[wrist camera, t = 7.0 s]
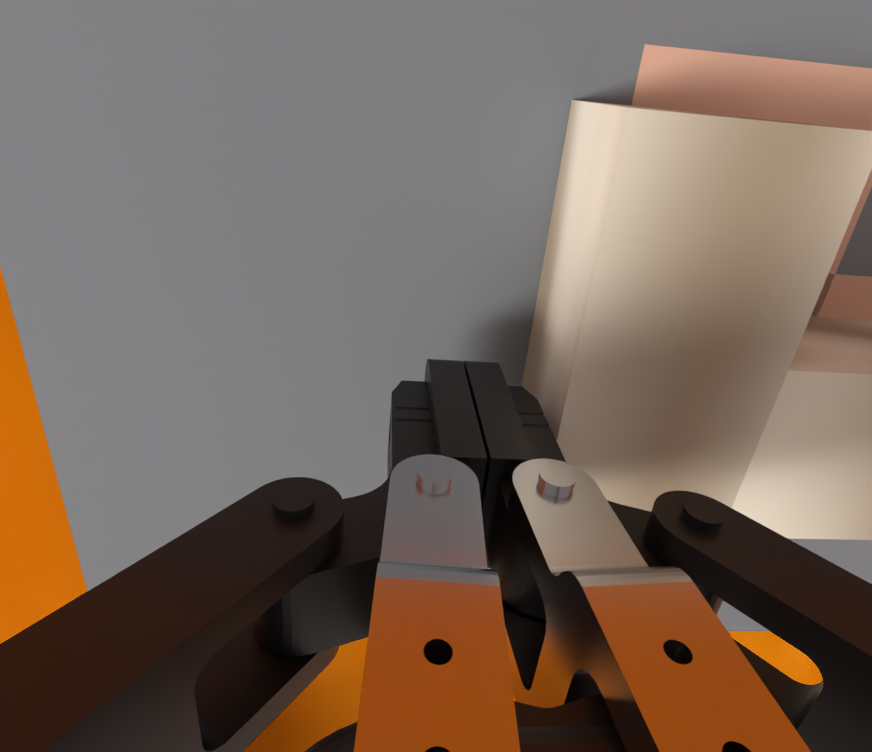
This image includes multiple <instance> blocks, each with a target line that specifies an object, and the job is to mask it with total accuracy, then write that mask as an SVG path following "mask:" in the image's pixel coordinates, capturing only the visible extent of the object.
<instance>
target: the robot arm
mask: <svg viewBox="0 0 872 752" xmlns="http://www.w3.org/2000/svg"><path fill="white" fill-rule="evenodd" d="M387 470H388V471H387V480H386V481H385V482H384V483H383V484H382V485H381V486H379V487H378V488H376V489H374V490H373V491H371V492H368V493H365V494H363V495H359V496H355V497H350V498H345V499H342V497H341V495H340V494H339V492H338V491H337V490H336V489H335V488H334V487H332V486H331V485H329V484H327V483H325V482H323V481H320V480H317V479H313V478H307V477H290V478H283V479H279V480H275V481H272V482H270V483H267V484H265V485H263V486H261V487H260V488H258V489H256V490H255V491H253V492H251V493H250V494H248V495H246V496H245V497H243V498H241V499H240V500H238V501H236V502H235V503H233V504H231V505H230V506H228V507H226V508H225V509H223V510H221V511H220V512H218V513H217V514H215V515H213V516H212V517H210V518H208V519H207V520H205V521H203V522H202V523H200V524H198V525H197V526H195V527H193V528H192V529H190V530H188V531H187V532H185V533H183V534H182V535H180V536H178V537H177V538H175V539H174V540H172V541H170V542H169V543H167V544H165V545H164V546H162V547H160V548H159V549H157V550H155V551H154V552H152V553H150V554H149V555H147V556H145V557H144V558H142V559H140V560H139V561H137V562H135V563H134V564H132V565H131V566H129V567H127V568H126V569H124V570H122V571H121V572H119V573H117V574H116V575H114V576H112V577H111V578H109V579H107V580H106V581H104V582H102V583H101V584H99V585H97V586H96V587H94V588H92V589H91V590H89V591H88V592H86V593H84V594H83V595H81V596H79V597H78V598H76V599H74V600H73V601H71V602H69V603H68V604H66V605H64V606H63V607H61V608H59V609H58V610H56V611H54V612H53V613H51V614H49V615H48V616H46V617H45V618H43V619H41V620H40V621H38V622H36V623H35V624H33V625H31V626H30V627H28V628H26V629H25V630H23V631H21V632H20V633H18V634H16V635H15V636H13V637H11V638H10V639H8V640H6V641H5V642H3V643H2V644H0V752H243V751H244V750H245V749H246V748H247V747H248V746H249V745H250V744H251V743H252V742H253V741H254V740H255V739H256V738H257V737H258V736H259V735H260V734H261V733H262V732H263V731H264V730H265V729H266V728H267V727H268V726H269V725H270V724H271V723H272V722H273V721H274V720H275V719H276V718H277V717H278V716H279V715H280V714H281V713H282V712H283V711H284V709H285V708H286V707H287V706H288V705H289V704H290V703H291V702H292V701H293V700H294V699H295V698H296V697H297V696H298V695H299V694H300V693H301V692H302V691H303V690H304V689H305V688H306V687H307V686H308V685H309V684H310V683H311V682H312V681H313V680H314V679H315V678H316V677H317V676H318V675H319V674H320V673H321V672H322V671H323V670H324V669H325V668H326V667H327V666H328V665H329V663H330V662H331V661H332V660H333V659H334V657H335V655H336V653H337V651H338V648H339V646H340V645H343V644H346V643H349V642H353V641H356V640H359V639H363V638H366V637H368V643H367V651H366V659H365V667H364V675H363V683H362V691H361V699H360V706H359V714H358V722H356V723H353V724H351V725H349V726H346V727H344V728H342V729H339V730H337V731H335V732H334V733H332V734H330V735H328V736H327V737H325V738H323V739H321V740H320V741H318V742H317V743H315V744H314V745H313V746H311V747H310V748H308V749H307V750H306V751H304V752H872V584H870V583H869V582H867V581H865V580H863V579H861V578H859V577H858V576H856V575H854V574H852V573H850V572H848V571H846V570H845V569H843V568H841V567H839V566H837V565H835V564H834V563H832V562H830V561H828V560H826V559H824V558H823V557H821V556H819V555H817V554H815V553H813V552H811V551H810V550H808V549H806V548H804V547H802V546H800V545H799V544H797V543H795V542H793V541H791V540H789V539H788V538H786V537H784V536H782V535H780V534H778V533H776V532H775V531H773V530H771V529H769V528H767V527H765V526H764V525H762V524H760V523H758V522H756V521H754V520H752V519H751V518H749V517H747V516H745V515H743V514H741V513H740V512H738V511H736V510H734V509H732V508H730V507H729V506H727V505H725V504H723V503H721V502H719V501H717V500H715V499H713V498H711V497H708V496H705V495H702V494H699V493H695V492H690V491H668V492H665V493H663V494H661V495H659V496H658V497H657V498H656V500H655V502H654V504H653V507H652V510H651V512H650V511H646V510H642V509H638V508H634V507H630V506H626V505H622V504H618V503H614V502H611V501H608V500H606V498H605V496H604V495H603V493H602V492H601V490H600V488H599V487H598V485H597V484H596V482H595V481H594V480H593V478H592V477H591V476H590V475H588V474H587V473H586V472H584V471H583V470H581V469H580V468H578V467H576V466H574V465H572V464H569V463H566V461H565V458H564V456H563V454H562V452H561V450H560V447H559V445H558V443H557V441H556V439H555V437H554V434H553V432H552V430H551V428H549V424H548V421H547V419H546V417H545V416H544V413H543V410H542V408H541V406H540V404H539V402H538V400H537V398H535V397H534V396H533V395H532V394H531V393H529V392H528V391H527V390H526V389H525V388H523V387H522V386H507V383H506V380H505V378H504V375H503V373H502V370H501V367H500V365H499V363H496V362H478V361H463V362H462V361H458V360H440V359H427V362H426V368H425V378H424V381H404V380H402V381H401V382H400V383H399V384H398V385H397V387H396V388H395V389H394V390H393V391H392V395H391V410H390V425H389V439H388V458H387ZM488 568H491V569H488ZM723 601H725V602H726V603H728V604H729V605H731V606H732V607H734V608H736V609H737V610H739V611H740V612H742V613H743V614H745V615H746V616H748V617H749V618H751V619H752V620H754V621H755V622H757V623H759V624H760V625H762V626H763V627H765V628H766V629H768V630H769V631H771V632H772V633H774V634H775V635H777V636H779V637H780V638H782V639H783V640H785V641H786V642H788V643H789V644H791V645H792V646H794V647H795V648H797V649H799V650H800V651H802V652H803V653H804V654H806V655H807V656H808V657H809V658H810V659H811V660H812V661H813V662H814V663H815V664H816V666H817V667H818V668H819V670H820V672H821V674H822V677H823V681H822V682H821V683H819V684H816V685H806V684H802V683H799V682H797V681H794V680H793V679H791V678H789V677H788V676H786V675H785V674H783V673H782V672H781V671H779V670H778V669H776V668H775V667H773V666H772V665H770V664H769V663H767V662H766V661H765V660H763V659H762V658H760V657H759V656H757V655H756V654H754V653H753V652H751V651H750V650H748V649H747V648H746V647H744V646H743V645H741V644H740V643H738V642H737V641H735V640H734V639H733V638H732V637H731V636H730V634H729V633H728V631H727V630H726V628H725V627H724V625H723V624H722V623H721V621H720V620H719V618H718V617H717V613H718V611H719V609H720V606H721V604H722V602H723ZM513 694H514V695H513ZM514 698H515V701H514Z"/></svg>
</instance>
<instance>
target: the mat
mask: <svg viewBox="0 0 872 752" xmlns="http://www.w3.org/2000/svg"><path fill="white" fill-rule="evenodd" d="M572 100H579V101H589V102H600V103H610V104H620V105H631V106H641V107H651V108H662V109H672V110H682V111H693V112H703V113H713V114H724V115H734V116H744V117H755V118H765V119H775V120H783V121H792V122H800V123H809V124H818V125H826V126H835V127H843V128H852V129H861V130H869V131H872V0H0V266H1V270H2V274H3V277H4V281H5V285H6V289H7V292H8V296H9V300H10V304H11V307H12V311H13V315H14V319H15V322H16V326H17V330H18V333H19V337H20V341H21V345H22V348H23V352H24V356H25V360H26V363H27V367H28V371H29V375H30V378H31V382H32V386H33V389H34V393H35V397H36V401H37V404H38V408H39V412H40V416H41V419H42V423H43V427H44V431H45V434H46V438H47V442H48V445H49V449H50V453H51V457H52V460H53V464H54V468H55V472H56V475H57V479H58V483H59V487H60V490H61V494H62V498H63V501H64V505H65V509H66V513H67V516H68V520H69V524H70V528H71V531H72V535H73V539H74V543H75V546H76V550H77V554H78V557H79V561H80V565H81V569H82V572H83V576H84V580H85V584H86V587H87V591H89V590H91V589H92V588H94V587H96V586H97V585H99V584H101V583H102V582H104V581H106V580H107V579H109V578H111V577H112V576H114V575H116V574H117V573H119V572H121V571H122V570H124V569H126V568H127V567H129V566H131V565H132V564H134V563H135V562H137V561H139V560H140V559H142V558H144V557H145V556H147V555H149V554H150V553H152V552H154V551H155V550H157V549H159V548H160V547H162V546H164V545H165V544H167V543H169V542H170V541H172V540H174V539H175V538H177V537H178V536H180V535H182V534H183V533H185V532H187V531H188V530H190V529H192V528H193V527H195V526H197V525H198V524H200V523H202V522H203V521H205V520H207V519H208V518H210V517H212V516H213V515H215V514H217V513H218V512H220V511H221V510H223V509H225V508H226V507H228V506H230V505H231V504H233V503H235V502H236V501H238V500H240V499H241V498H243V497H245V496H246V495H248V494H250V493H251V492H253V491H255V490H256V489H258V488H260V487H261V486H263V485H265V484H267V483H270V482H272V481H275V480H279V479H283V478H290V477H307V478H313V479H317V480H320V481H323V482H325V483H327V484H329V485H331V486H332V487H334V488H335V489H336V490H337V491H338V492H339V494H340V495H341V497H342V499H345V498H350V497H355V496H359V495H363V494H365V493H368V492H371V491H373V490H374V489H376V488H378V487H379V486H381V485H382V484H383V483H384V482H385V481H386V480H387V471H388V470H387V458H388V439H389V425H390V410H391V395H392V391H393V390H394V389H395V388H396V387H397V385H398V384H399V383H400V382H401V381H402V380H404V381H424V378H425V368H426V362H427V359H440V360H458V361H462V362H463V361H478V362H496V363H499V365H500V367H501V370H502V373H503V375H504V378H505V380H506V383H507V386H521V385H522V379H523V374H524V368H525V362H526V357H527V351H528V345H529V340H530V334H531V328H532V323H533V317H534V311H535V306H536V300H537V294H538V289H539V283H540V277H541V272H542V266H543V260H544V255H545V249H546V243H547V238H548V232H549V226H550V221H551V215H552V209H553V204H554V198H555V192H556V187H557V181H558V175H559V170H560V164H561V158H562V153H563V147H564V141H565V136H566V130H567V124H568V119H569V113H570V107H571V102H572ZM811 317H824V318H841V319H857V320H872V169H871V172H870V174H869V176H868V179H867V181H866V184H865V186H864V189H863V191H862V193H861V196H860V198H859V201H858V203H857V206H856V208H855V210H854V213H853V215H852V218H851V220H850V223H849V225H848V227H847V230H846V232H845V235H844V237H843V239H842V242H841V244H840V247H839V249H838V252H837V254H836V256H835V259H834V261H833V264H832V266H831V269H830V271H829V273H828V276H827V278H826V281H825V283H824V285H823V288H822V290H821V293H820V295H819V298H818V300H817V302H816V305H815V307H814V310H813V312H812V315H811ZM789 540H791V541H793V542H795V543H797V544H799V545H800V546H802V547H804V548H806V549H808V550H810V551H811V552H813V553H815V554H817V555H819V556H821V557H823V558H824V559H826V560H828V561H830V562H832V563H834V564H835V565H837V566H839V567H841V568H843V569H845V570H846V571H848V572H850V573H852V574H854V575H856V576H858V577H859V578H861V579H863V580H865V581H867V582H869V583H870V584H872V540H841V539H789ZM488 569H490V568H488ZM717 617H718V618H719V620H720V621H721V623H722V624H723V625H724V627H725V628H726V630H727V631H769V630H768V629H766V628H765V627H763V626H762V625H760V624H759V623H757V622H755V621H754V620H752V619H751V618H749V617H748V616H746V615H745V614H743V613H742V612H740V611H739V610H737V609H736V608H734V607H732V606H731V605H729V604H728V603H726V602H725V601H723V602H722V604H721V606H720V609H719V611H718V613H717Z"/></svg>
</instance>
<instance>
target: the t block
mask: <svg viewBox="0 0 872 752" xmlns="http://www.w3.org/2000/svg"><path fill="white" fill-rule="evenodd" d="M871 169H872V131H869V130H861V129H852V128H843V127H835V126H826V125H818V124H809V123H800V122H792V121H783V120H775V119H765V118H755V117H744V116H734V115H724V114H713V113H703V112H693V111H682V110H672V109H662V108H651V107H641V106H631V105H620V104H610V103H600V102H589V101H579V100H572V102H571V107H570V113H569V119H568V124H567V130H566V136H565V141H564V147H563V153H562V158H561V164H560V170H559V175H558V181H557V187H556V192H555V198H554V204H553V209H552V215H551V221H550V226H549V232H548V238H547V243H546V249H545V255H544V260H543V266H542V272H541V277H540V283H539V289H538V294H537V300H536V306H535V311H534V317H533V323H532V328H531V334H530V340H529V345H528V351H527V357H526V362H525V368H524V374H523V379H522V385H521V386H522V387H523V388H525V389H526V390H527V391H528V392H529V393H531V394H532V395H533V396H534V397H535V398H537V400H538V402H539V404H540V406H541V408H542V410H543V413H544V416H545V417H546V419H547V421H548V424H549V428H551V430H552V432H553V434H554V437H555V439H556V441H557V443H558V445H559V447H560V450H561V452H562V454H563V456H564V458H565V461H566V463H569V464H572V465H574V466H576V467H578V468H580V469H581V470H583V471H584V472H586V473H587V474H588V475H590V476H591V477H592V478H593V480H594V481H595V482H596V484H597V485H598V487H599V488H600V490H601V492H602V493H603V495H604V496H605V498H606V500H608V501H611V502H614V503H618V504H622V505H626V506H630V507H634V508H638V509H642V510H646V511H650V512H651V510H652V507H653V504H654V502H655V500H656V498H657V497H658V496H659V495H661V494H663V493H665V492H668V491H690V492H695V493H699V494H702V495H705V496H708V497H711V498H713V499H715V500H717V501H719V502H721V503H723V504H725V505H727V506H729V507H730V508H732V509H734V510H736V511H738V512H740V513H741V514H743V515H745V516H747V517H749V518H751V519H752V520H754V521H756V522H758V523H760V524H762V525H764V526H765V527H767V528H769V529H771V530H773V531H775V532H776V533H778V534H780V535H782V536H784V537H786V538H788V539H841V540H872V320H857V319H841V318H824V317H811V315H812V312H813V310H814V307H815V305H816V302H817V300H818V298H819V295H820V293H821V290H822V288H823V285H824V283H825V281H826V278H827V276H828V273H829V271H830V269H831V266H832V264H833V261H834V259H835V256H836V254H837V252H838V249H839V247H840V244H841V242H842V239H843V237H844V235H845V232H846V230H847V227H848V225H849V223H850V220H851V218H852V215H853V213H854V210H855V208H856V206H857V203H858V201H859V198H860V196H861V193H862V191H863V189H864V186H865V184H866V181H867V179H868V176H869V174H870V172H871ZM490 569H491V568H490Z"/></svg>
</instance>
